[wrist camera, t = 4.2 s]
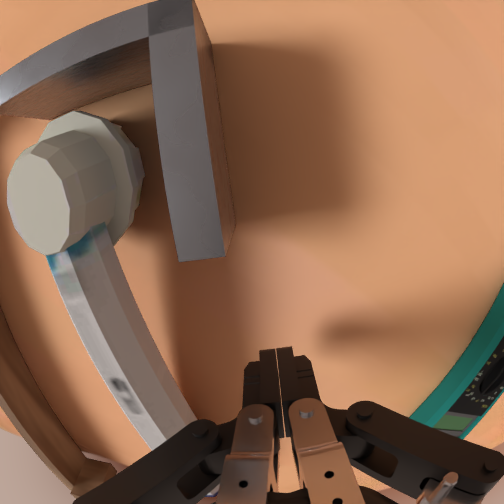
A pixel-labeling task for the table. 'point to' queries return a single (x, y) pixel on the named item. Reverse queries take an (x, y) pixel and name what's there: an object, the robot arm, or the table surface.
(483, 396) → the digital multimeter
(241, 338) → the table surface
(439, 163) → the table surface
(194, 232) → the grey angle bracket
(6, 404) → the rack
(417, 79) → the table surface
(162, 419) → the white massage wand
